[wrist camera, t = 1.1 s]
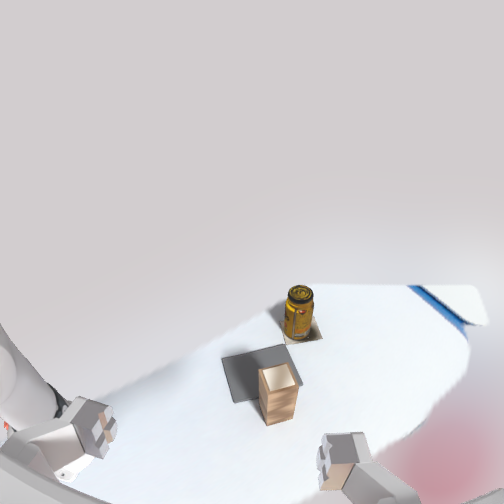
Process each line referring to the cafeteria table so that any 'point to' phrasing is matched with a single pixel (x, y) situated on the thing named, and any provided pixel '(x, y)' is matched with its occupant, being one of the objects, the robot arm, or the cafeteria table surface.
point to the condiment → (299, 317)
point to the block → (277, 393)
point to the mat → (254, 370)
